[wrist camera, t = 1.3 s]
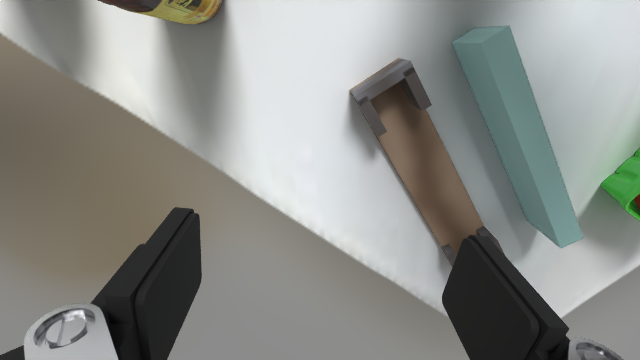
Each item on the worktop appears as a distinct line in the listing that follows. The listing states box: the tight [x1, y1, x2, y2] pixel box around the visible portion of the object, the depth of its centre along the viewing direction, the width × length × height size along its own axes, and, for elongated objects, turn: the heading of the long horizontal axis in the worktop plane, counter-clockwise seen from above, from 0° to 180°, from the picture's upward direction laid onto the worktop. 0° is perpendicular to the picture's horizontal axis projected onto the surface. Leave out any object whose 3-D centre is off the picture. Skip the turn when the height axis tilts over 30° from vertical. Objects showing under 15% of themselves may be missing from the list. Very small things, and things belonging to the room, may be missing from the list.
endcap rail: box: [350, 58, 504, 267], centre depth 35 cm, size 6×27×4 cm, turn 33°
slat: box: [451, 26, 583, 248], centre depth 32 cm, size 24×2×6 cm, turn 33°
